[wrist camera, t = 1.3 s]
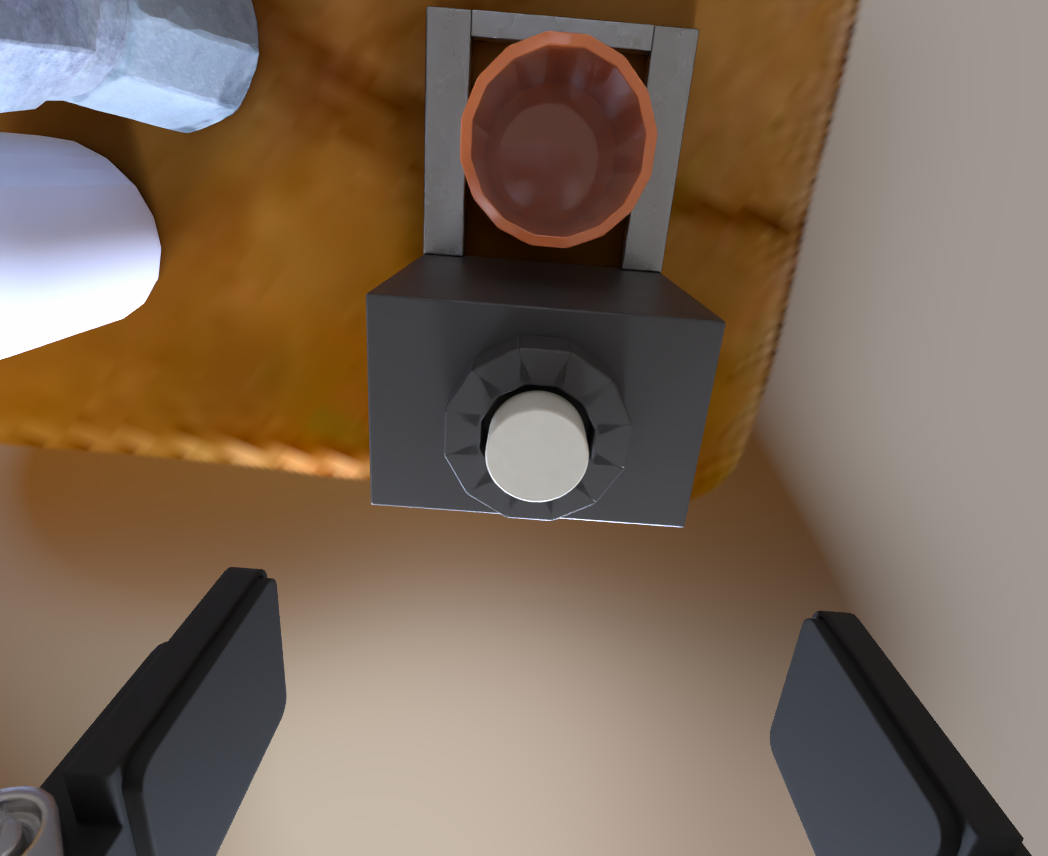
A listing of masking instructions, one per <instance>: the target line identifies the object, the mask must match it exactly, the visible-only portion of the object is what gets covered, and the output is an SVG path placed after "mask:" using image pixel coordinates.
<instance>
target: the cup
mask: <svg viewBox="0 0 1048 856" xmlns="http://www.w3.org/2000/svg"><path fill="white" fill-rule="evenodd" d="M656 141H657V127H656V123H655V118H654V114H653V109H652V105H651V100H650V96H649V92H648V90H647V88H646V87H645V85H644V84H643V82H642V81H641V79H640V78H639V76H638V75H637V74H636V72H635V71H634V69H633V68H632V66H631V65H630V63H629V62H628V61H627V59H626V58H625V57H624V56H623V55H622V54H621V53H619V52H617V51H616V50H614V49H612V48H611V47H609V46H607V45H606V44H604V43H602V42H601V41H599V40H597V39H596V38H594V37H592V36H591V35H588V34H581V33H570V32H558V31H545V32H542V33H540V34H537V35H535V36H532V37H529V38H527V39H524V40H522V41H519V42H517V43H514V44H511V45H509V47H506V48H505V49H504V50H503V51H502V52H501V53H500V54H499V55H498V56H497V58H496V59H495V60H494V61H493V62H492V63H491V64H490V65H489V66H488V67H487V68H486V69H485V70H484V71H483V72H482V73H481V74H480V75H479V77H478V78H477V80H476V82H475V85H474V87H473V89H472V92H471V94H470V97H469V99H468V101H467V104H466V106H465V109H464V111H463V114H462V117H461V138H460V159H461V160H460V161H461V164H462V167H463V170H464V173H465V176H466V179H467V182H468V185H469V188H470V191H471V194H472V197H473V198H474V200H475V202H476V203H477V204H478V205H479V206H480V208H481V209H482V210H483V211H484V212H485V214H486V215H487V216H488V217H489V218H490V220H491V221H492V222H493V223H494V224H495V226H496V227H497V228H499V229H500V230H502V231H504V232H506V233H508V234H509V235H511V236H513V237H515V238H517V239H519V240H521V241H523V242H525V243H527V244H528V245H531V246H541V247H553V248H570V247H573V246H576V245H579V244H582V243H585V242H588V241H591V240H594V239H597V238H600V237H602V236H604V235H605V234H606V233H607V232H609V231H610V230H611V229H612V228H613V227H614V226H616V225H617V224H618V223H619V222H620V221H621V220H623V219H624V218H625V217H626V216H627V215H628V214H630V213H631V211H632V210H633V209H634V207H635V205H636V203H637V201H638V199H639V198H640V196H641V194H642V192H643V190H644V188H645V186H646V185H647V183H648V181H649V179H650V177H651V174H652V169H653V162H654V155H655V148H656Z"/></svg>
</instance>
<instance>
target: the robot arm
mask: <svg viewBox="0 0 1048 856" xmlns="http://www.w3.org/2000/svg"><path fill="white" fill-rule="evenodd" d="M284 674H285V673H284V663H283V651H282V639H281V629H280V616H279V605H278V594H277V584H276V581H275V580H274V579H270V578H267V574H266V572H265V571H264V570H263V569H249V568H237V567H230V568H228V569H227V570H226V571H225V572H224V573H223V574H222V575H221V577H220V578H219V579H218V580H217V582H216V583H215V584H214V585H213V587H212V588H211V589H210V590H209V591H208V593H207V594H206V595H205V596H204V598H203V599H202V600H201V601H200V603H199V604H198V605H197V606H196V608H195V609H194V610H193V611H192V612H191V614H190V615H189V616H188V617H187V619H186V620H185V621H184V622H183V623H182V625H181V626H180V627H179V628H178V630H177V631H176V632H175V633H174V635H173V636H172V637H171V638H170V640H169V641H168V642H164V643H162V644H160V645H158V646H157V647H156V648H155V649H154V650H153V651H152V652H151V653H150V655H149V656H148V657H147V658H146V659H145V661H144V662H143V663H142V664H141V665H140V667H139V668H138V669H137V670H136V672H135V673H134V674H133V675H132V676H131V678H130V679H129V680H128V681H127V682H126V684H125V685H124V686H123V687H122V688H121V690H120V691H119V692H118V693H117V694H116V696H115V697H114V698H113V699H112V701H111V702H110V703H109V704H108V706H107V707H106V708H105V709H104V710H103V711H102V713H101V714H100V715H99V716H98V717H97V719H96V720H95V721H94V723H93V724H92V725H91V726H90V727H89V728H88V730H87V731H86V732H85V733H84V734H83V736H82V737H81V738H80V739H79V741H78V742H77V743H76V744H75V745H74V747H73V748H72V749H71V750H70V751H69V753H68V754H67V755H66V756H65V757H64V759H63V760H62V761H61V762H60V763H59V765H58V766H57V767H56V769H54V771H53V772H52V773H51V774H50V776H49V777H48V778H47V779H46V781H45V782H44V783H43V784H42V785H41V786H40V788H36V787H30V786H19V787H11V788H4V789H1V790H0V856H216V854H217V852H218V850H219V848H220V846H221V844H222V842H223V840H224V838H225V836H226V834H227V831H228V829H229V827H230V825H231V823H232V821H233V819H234V817H235V815H236V812H237V811H238V808H239V806H240V804H241V802H242V800H243V798H244V796H245V794H246V791H247V790H248V787H249V785H250V783H251V781H252V779H253V777H254V775H255V773H256V771H257V769H258V767H259V764H260V762H261V760H262V758H263V756H264V754H265V752H266V750H267V748H268V746H269V744H270V741H271V739H272V737H273V735H274V733H275V731H276V729H277V727H278V725H279V722H280V721H281V718H282V716H283V713H284V709H285V704H286V686H285V675H284ZM770 745H771V749H772V752H773V755H774V758H775V760H776V762H777V765H778V767H779V770H780V772H781V774H782V776H783V779H784V781H785V784H786V786H787V788H788V791H789V793H790V796H791V798H792V800H793V803H794V805H795V808H796V810H797V812H798V815H799V817H800V819H801V822H802V824H803V826H804V829H805V831H806V834H807V836H808V838H809V841H810V843H811V845H812V848H813V850H814V853H815V855H816V856H1031V854H1030V853H1029V851H1028V850H1027V849H1026V847H1025V846H1024V845H1023V844H1022V841H1023V837H1022V836H1021V834H1020V833H1019V832H1018V830H1017V829H1016V828H1015V826H1014V825H1013V824H1012V822H1011V821H1010V820H1009V818H1008V817H1007V816H1006V815H1005V813H1004V812H1003V810H1002V809H1001V808H1000V807H999V805H998V804H997V803H996V801H995V800H994V799H993V797H992V796H991V795H990V793H989V792H988V791H987V789H986V788H985V787H984V785H983V784H982V783H981V781H980V780H979V779H978V777H977V776H976V775H975V773H974V772H973V771H972V769H971V768H970V767H969V765H968V764H967V763H966V761H965V760H964V759H963V757H962V756H961V755H960V753H959V752H958V751H957V749H956V748H955V747H954V745H953V744H952V743H951V741H950V740H949V739H948V737H947V736H946V735H945V733H944V732H943V731H942V729H941V728H940V727H939V725H938V724H937V723H936V721H934V719H933V717H932V716H931V715H930V714H929V712H928V711H927V709H926V708H925V707H924V706H923V704H922V703H921V702H920V700H919V699H918V697H917V696H916V695H915V694H914V692H913V691H912V690H911V688H910V687H909V686H908V684H907V683H906V682H905V680H904V679H903V678H902V676H901V675H900V674H899V672H898V671H897V670H896V668H895V667H894V666H893V664H892V663H891V662H890V660H889V659H888V658H887V656H886V655H885V654H884V652H883V651H882V650H881V648H880V647H879V646H878V644H877V643H876V642H875V640H874V639H873V638H872V636H871V635H870V634H869V633H868V631H867V630H866V628H865V627H864V626H863V624H862V623H861V622H860V620H859V619H858V618H857V617H856V616H855V615H854V614H851V613H844V612H830V611H817V612H816V613H815V614H814V615H813V617H812V619H811V618H808V619H806V620H805V621H804V622H803V625H802V628H801V631H800V634H799V638H798V641H797V644H796V647H795V651H794V654H793V657H792V661H791V664H790V667H789V670H788V674H787V677H786V680H785V683H784V687H783V690H782V693H781V697H780V700H779V703H778V707H777V710H776V713H775V716H774V720H773V723H772V726H771V730H770Z"/></svg>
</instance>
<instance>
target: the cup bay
mask: <svg viewBox="0 0 1048 856" xmlns="http://www.w3.org/2000/svg"><path fill="white" fill-rule="evenodd" d="M545 31H558V32H570V33H581V34H588V35H591V36H592V37H594V38H596V39H597V40H599V41H601V42H602V43H604V44H606V45H607V46H609V47H611V48H612V49H614V50H616V51H617V52H619V53H628V54H640V55H647V54H648V56H647V64H646V71H645V79H644V85H645V87H646V88H647V90H648V92H649V96H650V100H651V105H652V109H653V114H654V118H655V123H656V127H657V141H656V148H655V155H654V162H653V169H652V174H651V177H650V179H649V181H648V183H647V185H646V186H645V188H644V190H643V192H642V194H641V196H640V198H639V199H638V201H637V203H636V205H635V207H634V209H633V210H632V211H631V213H630V214H628V215H627V216H626V223H625V230H624V238H623V246H622V253H621V261H620V267H621V268H622V269H623V270H631V271H643V272H656V273H660V272H661V271H662V264H663V258H664V252H665V245H666V239H667V233H668V226H669V220H670V214H671V207H672V201H673V194H674V188H675V182H676V175H677V169H678V163H679V156H680V150H681V144H682V137H683V131H684V125H685V118H686V112H687V106H688V99H689V93H690V87H691V80H692V74H693V68H694V61H695V55H696V49H697V42H698V36H699V29H695V28H683V27H671V26H659V25H656V26H654V25H650V24H639V23H627V22H615V21H603V20H592V19H580V18H568V17H556V16H544V15H533V14H521V13H509V12H497V11H486V10H474V9H473V10H472V11H471V10H470V9H459V8H447V7H436V6H427V8H426V69H425V155H424V241H423V252H424V254H429V255H442V256H454V257H463V256H464V254H465V238H466V211H467V184H468V182H467V179H466V176H465V173H464V170H463V167H462V164H461V161H460V160H461V159H460V138H461V117H462V114H463V111H464V109H465V106H466V104H467V101H468V99H469V97H470V94H471V75H472V48H473V40H474V41H486V42H498V43H510V44H514V43H517V42H519V41H522V40H524V39H527V38H529V37H532V36H535V35H537V34H540V33H542V32H545Z"/></svg>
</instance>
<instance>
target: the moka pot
mask: <svg viewBox="0 0 1048 856" xmlns="http://www.w3.org/2000/svg"><path fill="white" fill-rule="evenodd" d="M258 55H259V48H258V27H257V20H256V16H255V12H254V8H253V5H252V1H251V0H0V113H2V112H12V111H21V110H30V109H36V108H37V107H39V106H40V105H41V104H43V103H44V102H45V101H46V100H49V101H57V100H63V101H67V102H70V103H74V104H77V105H80V106H84V107H87V108H91V109H94V110H98V111H102V112H106V113H110V114H114V115H118V116H122V117H126V118H130V119H134V120H137V121H140V122H143V123H147V124H151V125H155V126H158V127H162V128H166V129H170V130H174V131H179V132H185V133H190V132H193V131H197V130H201V129H203V128H205V127H208V126H210V125H212V124H215V123H217V122H219V121H221V120H223V119H224V118H226V117H228V116H230V115H232V114H233V113H234V112H235V111H236V110H237V109H238V108H239V106H240V105H241V103H242V101H243V100H244V98H245V95H246V93H247V91H248V88H249V86H250V83H251V80H252V77H253V75H254V73H255V70H256V67H257V61H258Z"/></svg>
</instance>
